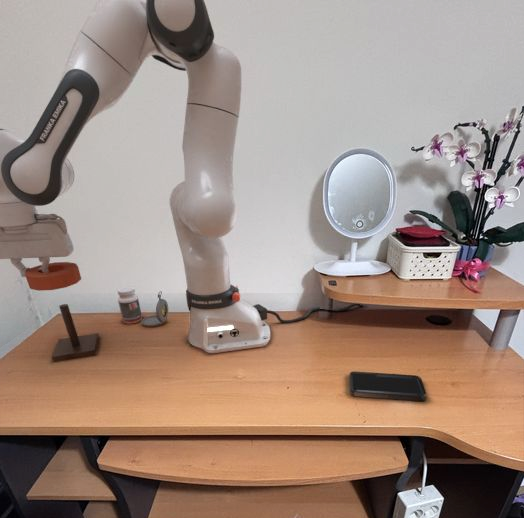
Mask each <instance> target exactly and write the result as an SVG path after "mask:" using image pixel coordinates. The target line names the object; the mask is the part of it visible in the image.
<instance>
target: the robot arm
mask: <svg viewBox="0 0 524 518" xmlns="http://www.w3.org/2000/svg"><path fill="white" fill-rule="evenodd" d="M205 2H206V1H205V0H145V2H144V1H142V0H98V1H97V3H96V4H95V6H94V7H93V8H92V10H91V11H90V13H89V15H88V16H87V17H86V19H85V21H84V23H83V25H82V26H81V29H80V30H79V32H78V34H77V36H76V38H75V41H74V43H73V45H72V47H71V49H70V52H69V54H68V58H67V60H66V63H65V67H64V69H63V72H62V74H61V76H60V79H59V81H58V84H57V86H56V89H55V91H54V93H53V94H52V96H51V98H50V100H49V102H48V103H47V104H46V107H45V108H44V111H43V112H42V114H41V116H40V117H39V120H38V121H37V123H36V124H35V127H34V128H33V130H32V131H31V133H30V135H29V136H28V137H27V139H23V138H21V137H19V136H17V135H15V134H13V133H12V132H10V131H9V130H7V129H6V128H5V129H4V128H0V260H10V262H11V264H12V265H13V266H14V267H15V268H16V269H17V270H18V271H19V273H20V276H21V277H22V278H26V276H25V273H24V272H25V271H27V270H29V269H30V268H31V267H26V266H25V264H24V263H23V262H22V261H23V259H38V261H39V262H40V263H41V265H42V267H41V268H39V269H38V272H40V273H49V271H48V265H49V263H50V261H51V258H67V257H69V256H71V255H72V254H73V252H74V250H75V247H74V245H73V242H72V240H71V236H70V234H69V231H68V226H67V223H66V221H65V219H64V218H63V217H62V216H60V215H57V213H50V214H46V213H39V212H38V209H37V207H41V206H42V207H43V206H46V205H50V204H52V203H53V202H55V201H56V200H57V198H59V197H60V196H62V195H64V194H65V193H66V192H68V191H69V190H70V189H71V188H72V186H73V184H74V181H75V171H74V168H73V165H72V163H71V162H70V160H69V158H68V155H69V154H70V152H71V150H72V149H73V147H74V145H75V143H76V142H77V141H78V138H79V137H80V135H81V133H82V131H83V130H84V128H85V127H86V126H87V124H89V122H90V121H91V120H92V119H93V118H95V117H96V116H98V115H99V114H101V113H102V112H105V111H107V110H109V109H112V108H113V107H114V106H115V105H116V104H117V103H119V101H120V100H122V98H123V97H124V96H125V94H126V93H127V91H128V89H130V87H131V85H132V83H133V81H134V79H135V78H136V76H137V74H138V72H139V71H140V69H141V67H142V66H143V64H144V62H145V61H146V60H147V59H148V58H150V57H152V58H153V59H154V60H155V61H158V62H161V63H163V64H165V65H167V66H169V67H171V68H172V69H174V70H178V71H183V72H186V75H187V83H188V84H187V85H188V86H187V97H186V105H185V115H184V122H183V123H184V125H183V135H182V143H181V149H182V153H183V165H184V181H181V182H179V183H178V184H176V185H175V186H174V188H173V189H172V190H171V192H170V195H169V200H168V202H169V207H170V211H171V215H172V220H173V225H174V230H175V233H176V237H177V241H178V245H179V250H180V253H181V256H182V257H181V258H182V261H183V268H184V275H185V282H186V290H185V299H186V305H187V308H188V311H189V330H188V335H187V341H188V342H189V344H191V345H192V346H193V347H195V348H199V349H202V350H203V351H204V352H206V353H207V354H217V353H218V354H219V353H224V352H225V353H226V352H232V351H233V352H234V351H240V350H246V349H247V350H248V349H254V348H261V347H265V346H267V344H269V342H270V340H271V337H272V336H271V328H270V326H269V324H268V323H267V322H265V320H268V314H270V315H273V316H275V317H276V319H277V321H278V322H280V323H283V324H292V323H296V322H299V321H301V320H304V319H306V318H307V317H309V316H310V314H311V313H312V312H314V311H321V310H320V307H321V306H315V307H312V308H310V309H309V310H308V311H307V312H306V313H305V314H303V315H302V316H299V317H296V318H293V319H287V320H286V319H282V318H281V316H280V315H279V313H277V312H276V311H273V310H270V309H268V308H267V307H265V306H263V305H262V304H260V303H258V304H254V305H251V304H250V303H248V302H247V301H245V300H243V299H241V294H240V289H239V287H238V285H237V284H236V285H233V284H232V283H231V274H230V273H231V272H230V261H229V254H228V252H227V249H226V247H225V243H224V240H223V237H224V236H226V235H228V234H230V232H231V231H232V230H233V228H234V227H235V225H236V222H237V217H238V212H237V206H236V203H235V199H234V152H235V146H236V140H237V131H238V124H239V120H240V119H239V118H240V111H241V103H242V102H241V101H242V66H241V63H240V60H239V58H238V56H237V55H236V54H234V52H232V51H231V50H229V48H226V47H224V46H221V45H218V44H216V43H215V42H214V40H215V32H214V29H213V26H212V22H211V20H210V16H209V12H208V7H207V6H206V3H205ZM360 304H361V305H360ZM360 304H354V303H351V304H349V305H347V306H345V307H340V308H334V307H331V308H332V309H331V311H330V312H344V311H347V310H349V309H351V308H353V307H359V308H365V306H364V305H363V304H362V303H360Z"/></svg>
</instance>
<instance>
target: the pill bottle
mask: <svg viewBox="0 0 524 518" xmlns="http://www.w3.org/2000/svg"><path fill="white" fill-rule="evenodd" d="M135 293H136V290H135V287H134V286H122V287H120V288H118V289H117V294H118V298H117V302H118V306H119V311H120V314H121V315H120V316H121V319H122V321H123V323H125V324H129V325H130V324H137V323H139V322H141V321H142V320H143V315H142V310H141V305H140V300H139V297H138V295H137V294H135Z"/></svg>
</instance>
